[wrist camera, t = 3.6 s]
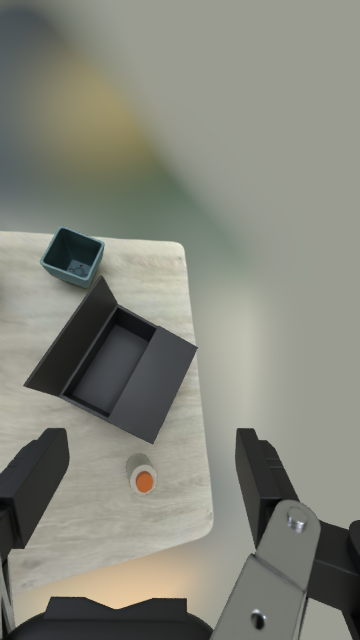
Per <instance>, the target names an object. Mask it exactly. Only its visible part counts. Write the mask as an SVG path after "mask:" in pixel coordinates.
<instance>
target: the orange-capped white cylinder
mask: <svg viewBox="0 0 360 640" xmlns="http://www.w3.org/2000/svg"><path fill="white" fill-rule="evenodd" d="M126 471H127V475H128V479H129V483H130V487H131V489H132V491H133V492H134V493H135V494H137V495H140V496H143V495H147V494H149V493H150V492H152V491H153V489H154V488H155V486H156V483H157V474H156V471H155V469H154V468H153V466H152V465H151V463H150V461H149V460H148V458H147V457H146V456H145V455H143V454H135V455H133V456H131V457H130V458H129V460H128V462H127V465H126Z"/></svg>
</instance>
